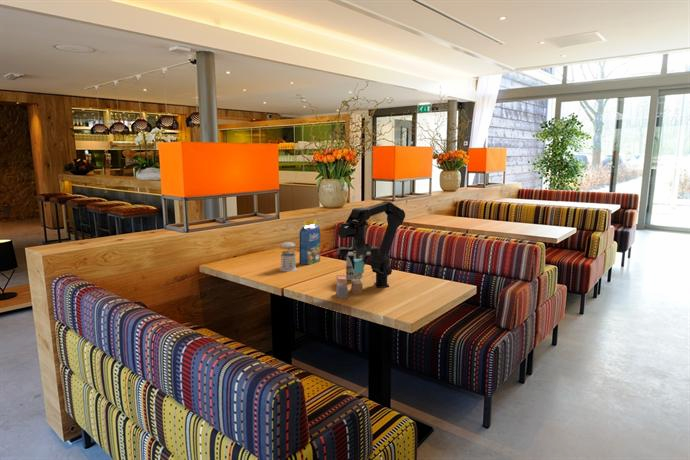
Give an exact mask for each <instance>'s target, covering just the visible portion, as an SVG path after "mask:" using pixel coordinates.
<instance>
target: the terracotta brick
mask: <svg viewBox="0 0 690 460" xmlns="http://www.w3.org/2000/svg"><path fill="white" fill-rule="evenodd" d="M335 277H336V278H335V279H336V281H335V282H336V285H337V284H340V283H345V284H346V286H347V287H348V285H347V284H348V280H347V278H346V274H337V275H336V276H335ZM336 285H335V286H336Z"/></svg>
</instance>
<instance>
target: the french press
mask: <svg viewBox="0 0 690 460" xmlns="http://www.w3.org/2000/svg"><path fill="white" fill-rule="evenodd" d="M290 227H291V226H290V224H286V228H290ZM295 246H296V243H294V242H292V241H285V242H282V243H281V244H280V247H283V248H288V250H283V251H281V253H282V254H281V255H280V258H281V259H280V260H281V261H280V263H281V264H280V265H281V267H280V268H279V271H281V272H295V271H297V270H298V268H297V267H296V254H295V251H294V249H293V248H294V247H295ZM289 248H291V250H290V249H289Z"/></svg>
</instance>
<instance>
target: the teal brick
mask: <svg viewBox="0 0 690 460" xmlns="http://www.w3.org/2000/svg"><path fill="white" fill-rule="evenodd" d="M352 270H353V271H354V272H355V273H363V274H364V273H365V265H364V262H363V261H362V260H361V259H354V269H353V268H352Z"/></svg>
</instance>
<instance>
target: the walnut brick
mask: <svg viewBox="0 0 690 460" xmlns="http://www.w3.org/2000/svg"><path fill="white" fill-rule="evenodd" d="M350 285H351V286H350V287H351V288H350V290H351V292H352V294H353V295H355V294H356V295H357V294H358V295H359V294H363V282H362V281H361V278H360V279H351V280H350Z"/></svg>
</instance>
